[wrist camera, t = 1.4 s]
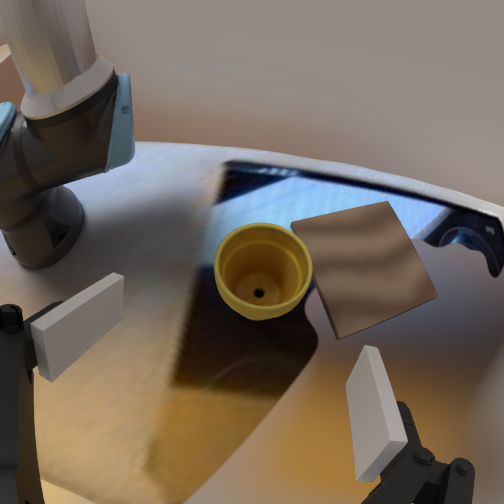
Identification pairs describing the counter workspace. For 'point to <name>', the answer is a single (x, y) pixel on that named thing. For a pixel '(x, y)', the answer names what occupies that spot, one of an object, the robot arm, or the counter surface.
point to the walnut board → (364, 266)
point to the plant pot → (262, 270)
